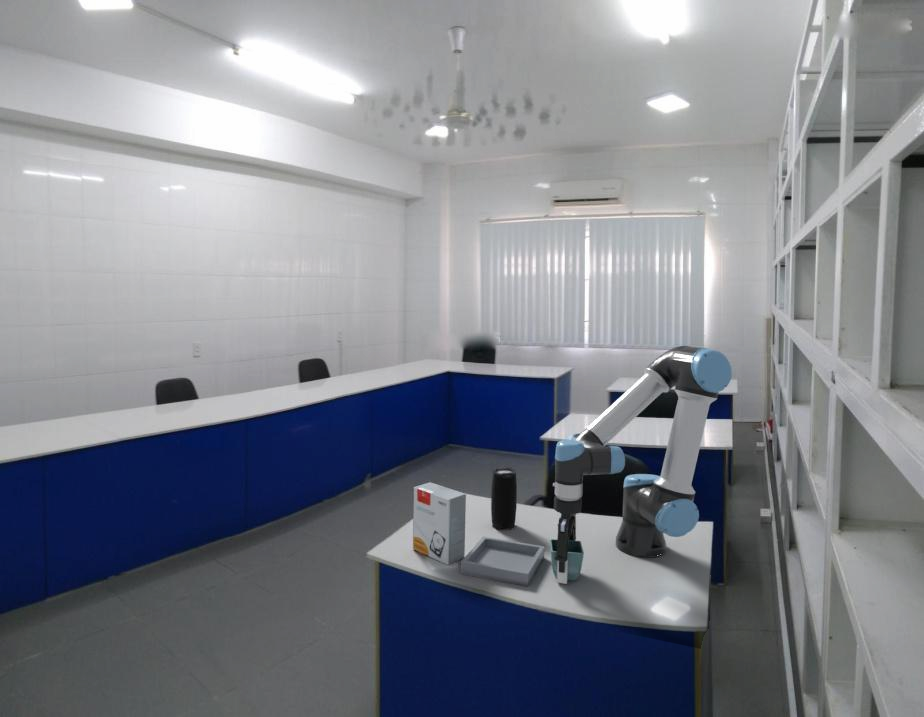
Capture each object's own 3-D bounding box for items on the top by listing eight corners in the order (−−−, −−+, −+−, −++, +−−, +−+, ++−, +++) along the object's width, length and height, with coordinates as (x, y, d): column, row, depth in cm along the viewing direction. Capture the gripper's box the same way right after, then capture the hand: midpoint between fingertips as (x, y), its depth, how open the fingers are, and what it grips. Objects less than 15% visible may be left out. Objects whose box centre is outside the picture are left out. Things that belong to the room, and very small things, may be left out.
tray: (544, 557, 178) (544, 546, 177) (527, 586, 160) (528, 574, 159) (483, 547, 185) (483, 536, 184) (460, 573, 167) (460, 561, 166)
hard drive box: (411, 550, 182) (412, 486, 180) (429, 542, 188) (430, 481, 186) (448, 565, 171) (448, 498, 170) (465, 557, 177) (466, 492, 175)
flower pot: (579, 570, 170) (580, 540, 169) (583, 585, 161) (584, 553, 160) (548, 568, 171) (549, 538, 170) (550, 583, 162) (551, 551, 161)
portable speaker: (511, 520, 208) (512, 465, 206) (519, 530, 199) (521, 473, 197) (487, 521, 206) (488, 466, 204) (494, 532, 197) (496, 474, 195)
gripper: (562, 483, 175) (560, 557, 177) (545, 507, 155) (543, 589, 157) (588, 487, 172) (585, 561, 174) (574, 511, 152) (571, 595, 154)
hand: (565, 574), depth 166 cm, fingers closed on flower pot, 9 cm apart
